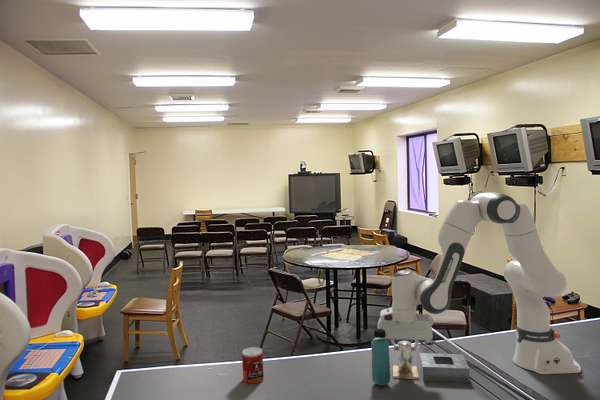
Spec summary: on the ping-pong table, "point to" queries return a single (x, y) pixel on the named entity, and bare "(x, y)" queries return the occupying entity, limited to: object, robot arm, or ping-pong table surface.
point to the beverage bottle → (380, 358)
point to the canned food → (252, 365)
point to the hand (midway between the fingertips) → (404, 350)
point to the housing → (444, 367)
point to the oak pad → (403, 375)
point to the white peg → (405, 356)
